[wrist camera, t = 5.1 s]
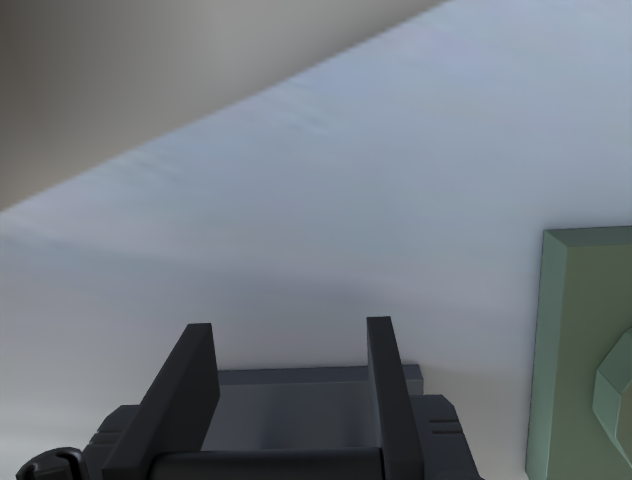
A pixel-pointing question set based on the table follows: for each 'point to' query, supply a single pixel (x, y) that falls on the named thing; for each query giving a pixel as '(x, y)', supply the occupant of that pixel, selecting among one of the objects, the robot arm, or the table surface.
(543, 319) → the stop box
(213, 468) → the switch lever
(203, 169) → the table surface
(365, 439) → the switch bracket
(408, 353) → the table surface
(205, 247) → the table surface
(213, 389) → the robot arm
